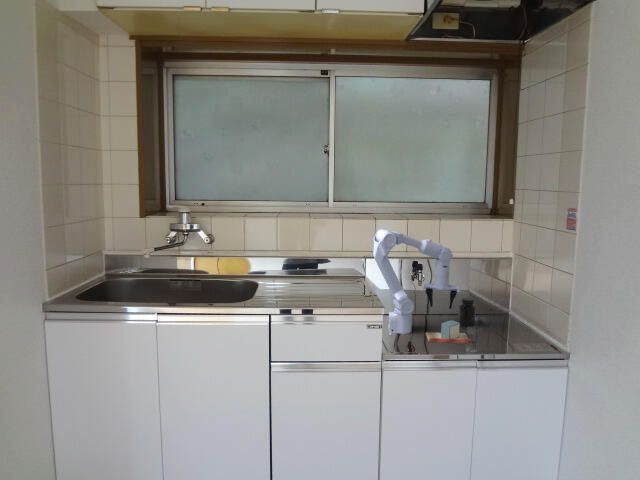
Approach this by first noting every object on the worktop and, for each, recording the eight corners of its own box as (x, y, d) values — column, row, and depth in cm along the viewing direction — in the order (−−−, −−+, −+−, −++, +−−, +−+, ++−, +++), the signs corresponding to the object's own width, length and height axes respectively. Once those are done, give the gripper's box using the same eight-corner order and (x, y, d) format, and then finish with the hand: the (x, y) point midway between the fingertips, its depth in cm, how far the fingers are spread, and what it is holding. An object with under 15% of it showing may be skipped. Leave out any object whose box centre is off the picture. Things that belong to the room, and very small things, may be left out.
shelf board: (429, 344, 173) (429, 338, 172) (425, 334, 183) (425, 329, 182) (471, 345, 172) (471, 339, 171) (465, 335, 181) (465, 329, 181)
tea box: (441, 337, 177) (441, 323, 176) (451, 334, 180) (451, 320, 179) (449, 341, 174) (449, 326, 172) (459, 337, 177) (460, 323, 176)
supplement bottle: (476, 329, 188) (477, 301, 186) (459, 328, 189) (460, 301, 187) (473, 323, 195) (475, 297, 192) (457, 322, 196) (458, 296, 194)
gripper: (422, 276, 183) (421, 308, 185) (459, 279, 178) (458, 311, 180) (425, 272, 189) (424, 303, 192) (460, 274, 184) (459, 306, 187)
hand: (440, 307), depth 186 cm, fingers open, 7 cm apart
